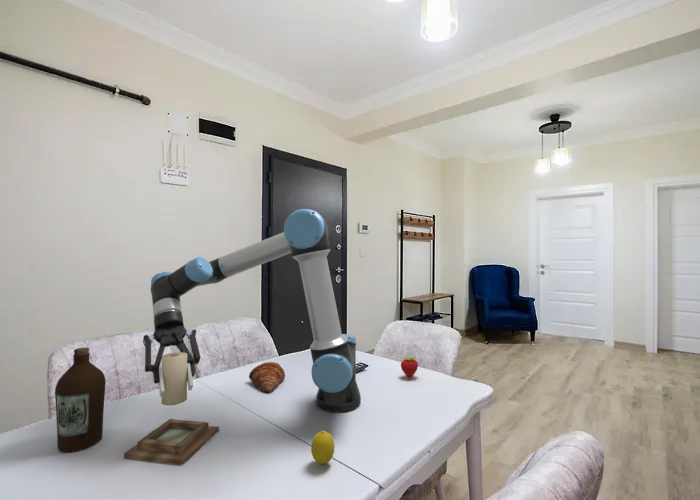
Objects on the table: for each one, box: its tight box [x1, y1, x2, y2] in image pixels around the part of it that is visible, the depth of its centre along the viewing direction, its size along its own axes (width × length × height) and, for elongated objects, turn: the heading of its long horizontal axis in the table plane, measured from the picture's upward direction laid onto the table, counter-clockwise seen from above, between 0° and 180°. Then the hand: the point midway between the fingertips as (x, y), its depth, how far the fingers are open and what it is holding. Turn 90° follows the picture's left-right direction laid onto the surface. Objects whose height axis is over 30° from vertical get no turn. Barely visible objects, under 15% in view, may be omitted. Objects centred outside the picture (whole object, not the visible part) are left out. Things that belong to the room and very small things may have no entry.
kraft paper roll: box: [161, 351, 188, 407], centre depth 91 cm, size 6×6×12 cm
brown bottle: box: [54, 347, 107, 454], centre depth 91 cm, size 11×11×25 cm
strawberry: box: [400, 354, 419, 379], centre depth 139 cm, size 6×8×10 cm
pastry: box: [248, 361, 286, 394], centre depth 134 cm, size 17×15×8 cm
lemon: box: [310, 430, 335, 465], centre depth 82 cm, size 6×6×8 cm
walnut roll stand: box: [123, 418, 220, 466], centre depth 91 cm, size 16×16×3 cm
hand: (176, 390), depth 88 cm, fingers closed on kraft paper roll, 6 cm apart
